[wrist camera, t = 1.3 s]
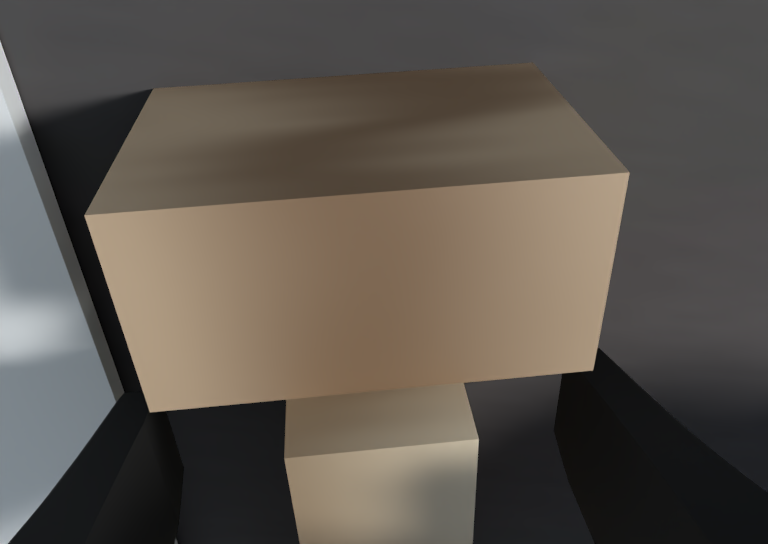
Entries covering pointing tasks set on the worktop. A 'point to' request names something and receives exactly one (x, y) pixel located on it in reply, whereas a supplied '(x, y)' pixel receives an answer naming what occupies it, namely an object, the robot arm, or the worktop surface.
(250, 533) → the worktop surface
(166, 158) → the tan boxy piece
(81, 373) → the grey mat
